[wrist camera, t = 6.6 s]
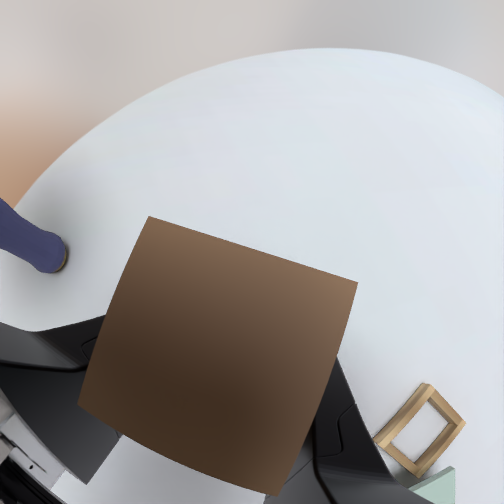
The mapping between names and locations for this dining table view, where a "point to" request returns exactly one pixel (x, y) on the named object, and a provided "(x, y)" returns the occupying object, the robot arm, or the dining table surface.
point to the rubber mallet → (30, 241)
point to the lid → (438, 487)
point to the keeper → (406, 414)
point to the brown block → (216, 354)
